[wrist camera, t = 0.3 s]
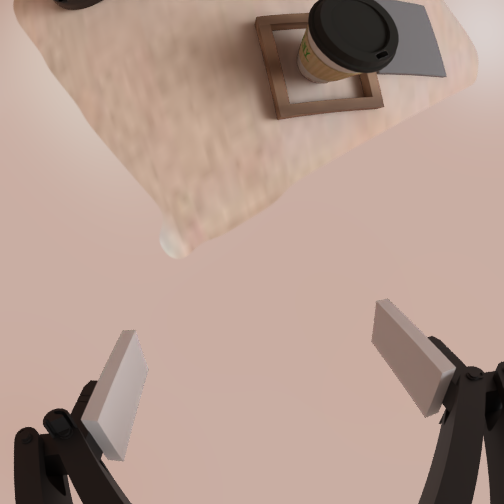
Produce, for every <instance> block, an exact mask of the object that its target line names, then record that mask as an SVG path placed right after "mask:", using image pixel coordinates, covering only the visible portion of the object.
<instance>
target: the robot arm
mask: <svg viewBox="0 0 504 504" xmlns="http://www.w3.org/2000/svg"><path fill="white" fill-rule="evenodd" d="M53 1H54V2H55V3H57V4H58V5H59V6H60V7H62V8H65V9H71V10H74V9H81V8H85V7H89V6H91V5H94V4H96V3H98V2H100V1H102V0H53ZM372 343H373V344H374V346H375V347H376V348H377V350H378V351H379V352H380V354H381V355H382V357H383V358H384V359H385V361H386V362H387V363H388V365H389V366H390V368H391V369H392V371H393V372H394V373H395V375H396V376H397V377H398V379H399V380H400V382H401V383H402V385H403V386H404V387H405V389H406V390H407V392H408V393H409V395H410V396H411V397H412V399H413V401H414V402H415V403H416V405H417V406H418V408H419V409H420V411H421V412H422V414H423V415H424V417H425V418H426V417H428V416H430V415H433V414H435V413H437V412H439V409H440V407H441V405H442V404H443V405H444V406H445V408H446V410H445V412H444V414H443V416H442V418H441V420H440V423H439V424H441V423H442V425H441V429H440V434H439V438H438V442H437V446H436V450H435V454H434V457H433V461H432V465H431V468H430V471H429V474H428V477H427V481H426V484H425V487H424V489H423V492H422V495H421V498H420V501H419V503H418V504H472V500H473V495H474V491H475V486H476V481H477V475H478V469H479V464H480V457H481V450H482V441H483V435H484V441H485V448H486V456H487V464H488V474H489V484H490V504H504V362H501V363H499V364H498V366H497V368H496V371H493V372H486V373H484V372H483V371H482V370H481V369H479V368H477V367H474V366H470V367H469V366H468V367H466V366H465V364H463V362H462V361H461V360H460V359H459V358H458V357H457V356H456V355H455V354H454V353H453V352H451V350H450V349H449V348H447V347H446V345H445V344H444V343H443V342H442V341H441V340H439V339H437V338H435V337H433V336H431V337H426V336H425V335H424V334H423V333H422V332H421V331H420V330H419V329H418V328H417V327H416V326H415V325H414V324H413V323H412V322H411V321H410V320H409V319H408V318H407V317H406V316H405V315H404V314H403V313H402V312H401V311H400V310H399V309H398V308H397V307H396V306H395V305H394V304H393V303H392V302H391V301H390V300H389V299H384V300H379V301H376V310H375V318H374V327H373V334H372ZM147 372H148V367H147V364H146V361H145V358H144V356H143V352H142V349H141V346H140V343H139V340H138V336H137V334H136V330H126V331H122V333H121V335H120V337H119V339H118V341H117V343H116V345H115V347H114V349H113V351H112V353H111V355H110V357H109V359H108V361H107V363H106V365H105V367H104V369H103V371H102V374H101V376H100V378H99V380H98V381H92V380H91V381H90V382H89V383H88V384H87V385H85V387H84V388H83V390H82V392H81V394H80V396H79V398H78V400H77V402H76V404H75V406H74V408H73V410H72V413H71V415H70V414H69V412H68V411H67V410H65V409H54V410H52V411H50V412H48V413H47V414H46V416H45V417H44V419H43V425H44V427H45V428H46V429H47V431H48V432H49V434H40V435H39V434H38V432H37V431H36V430H35V429H34V428H32V427H25V428H23V429H21V430H20V431H18V433H17V434H16V436H15V442H14V485H15V500H16V504H73V502H72V497H71V493H70V488H69V483H68V477H67V475H69V477H70V479H71V481H72V483H73V485H74V487H75V489H76V491H77V493H78V495H79V497H80V499H81V501H82V502H83V504H131V503H130V501H129V500H128V498H127V497H126V496H125V494H124V493H123V492H122V490H121V489H120V487H119V486H118V484H117V483H116V481H115V480H114V478H113V477H112V475H111V474H110V472H109V471H108V469H107V468H106V466H105V464H104V463H103V462H102V460H101V456H102V453H104V455H105V456H106V457H107V459H108V460H116V461H124V457H125V453H126V449H127V445H128V441H129V438H130V434H131V430H132V426H133V422H134V419H135V415H136V411H137V408H138V404H139V400H140V397H141V393H142V390H143V386H144V383H145V379H146V376H147Z"/></svg>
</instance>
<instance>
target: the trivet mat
mask: <svg viewBox="0 0 504 504" xmlns="http://www.w3.org/2000/svg"><path fill="white" fill-rule="evenodd" d="M374 1H376V2H377V3H379V4H380V5H381V6H382V7H383V8H384V9H386V11H387V12H388V13H389V14H390V16H391V17H392V19H393V20H394V22H395V25H396V27H397V30H398V35H399V43H398V47H397V50H396V54H395V56H394V58H393V60H392V61H391V62H390V63H389V64H388V65H387V66H386V67H385V68H383V69H382V70H380V71H377V72H376V73H377V74H396V75H419V76H433V77H447V76H446V72H445V68H444V65H443V61H442V57H441V54H440V51H439V47H438V44H437V41H436V38H435V35H434V32H433V29H432V26H431V23H430V20H429V18H428V15H427V12H426V10H425V7H424V6H422V5H417V4H412V3H407V2H402V1H396V0H374Z"/></svg>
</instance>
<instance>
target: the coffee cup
mask: <svg viewBox="0 0 504 504" xmlns="http://www.w3.org/2000/svg"><path fill="white" fill-rule="evenodd" d="M398 43H399V35H398V30H397V27H396V25H395V22H394V20H393V19H392V17H391V16H390V14H389V13H388V12H387V11H386V9H384V8H383V7H382V6H381V5H380V4H379V3H377V2H376V1H374V0H319V1H317V2H316V3H315V4H314V5H313V7H312V8H311V10H310V13H309V16H308V25H307V28H306V31H305V34H304V37H303V39H302V42H301V45H300V48H299V54H298V57H297V65H298V68H299V70H300V72H301V73H302V75H303V76H304V77H306V78H307V79H308V80H310V81H312V82H315V83H328V82H331V81H337V80H340V79H344V78H347V77H351V76H354V75H358V74H361V73H373V72H377V71H380V70H382V69H383V68H385V67H386V66H387V65H388V64H389V63H390V62H391V61H392V60H393V58H394V56H395V54H396V50H397V47H398Z"/></svg>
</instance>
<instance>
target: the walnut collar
mask: <svg viewBox="0 0 504 504" xmlns="http://www.w3.org/2000/svg"><path fill="white" fill-rule="evenodd" d="M308 16H309V13H300V14H282V15H270V16H260V17H256V21H255V27H256V30H257V34H258V38H259V42H260V46H261V50H262V54H263V58H264V62H265V66H266V70H267V75H268V79H269V83H270V87H271V92H272V96H273V101H274V105H275V110H276V114H277V119H278V120H279V119H285V118H292V117H299V116H307V115H314V114H323V113H332V112H342V111H353V110H367V109H378V108H382V107H384V104H383V99H382V95H381V90H380V86H379V82H378V78H377V74H376V72H373V73H361V74H359V75H360V79H361V83H362V87H363V91H364V96H365V97H364V98H348V99H335V100H324V101H315V102H306V103H298V104H290V102H289V97H288V93H287V89H286V84H285V80H284V76H283V72H282V68H281V64H280V60H279V56H278V52H277V48H276V44H275V40H274V37H273V33H272V31H275V30H287V29H303V28H307V25H308Z"/></svg>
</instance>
